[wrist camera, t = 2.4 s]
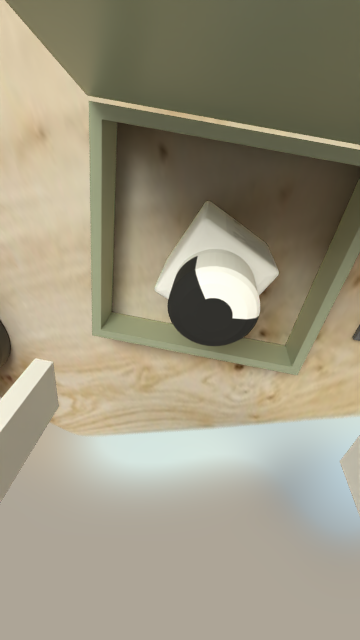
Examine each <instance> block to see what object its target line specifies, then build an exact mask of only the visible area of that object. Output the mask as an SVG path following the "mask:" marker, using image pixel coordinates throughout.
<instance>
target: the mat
mask: <svg viewBox="0 0 360 640" xmlns="http://www.w3.org/2000/svg"><path fill="white" fill-rule="evenodd" d="M353 339H354V340H358V341H360V325H359V327H358V329H357V330H356V332H355V334H354V336H353Z"/></svg>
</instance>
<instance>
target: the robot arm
mask: <svg viewBox="0 0 360 640" xmlns="http://www.w3.org/2000/svg"><path fill="white" fill-rule="evenodd" d="M9 354H10V342H9V338H8V335H7V333H6V331H5V329H4V327H3V325H2V324H1V322H0V368H1V367H2V366H3V365H4V363H5V362H6V361H7V359H8V357H9ZM58 407H59V404H58V396H57V389H56V381H55V373H54V365H53V362H52V361H46V360H41V359H36V358H35V359H34V360H33V362H32V363H31V364H30V365H29V366H28V367H27V369H26V370H25V371H24V372H23V373H22V375H21V376H20V377H19V378H18V379H17V381H16V382H15V383H14V384H13V385H12V386H11V388H10V389H9V390H8V391H7V392H6V394H5V395H4V396H3V397H2V398H1V400H0V503H1V501H2V499H3V498H4V496H5V494H6V493H7V491H8V489H9V488H10V486H11V484H12V482H13V481H14V479H15V478H16V476H17V474H18V473H19V471H20V470H21V468H22V466H23V465H24V463H25V461H26V460H27V458H28V456H29V455H30V452H31V451H32V449H33V448H34V446H35V445H36V443H37V441H38V439H39V438H40V436H41V435H42V433H43V431H44V430H45V428H46V427H47V425H48V423H49V422H50V420H51V418H52V417H53V415H54V413H55V412H56V410H57V408H58ZM340 463H341V466H342V469H343V472H344V474H345V477H346V480H347V483H348V485H349V488H350V491H351V494H352V496H353V499H354V502H355V505H356V507H357V510H358V513H359V516H360V436H359V437H358V438H357V440H356V441H355V442H354V443H353V445H352V446H351V447H350V449H349V450H348V451H347V453H346V454H345V455H344V457H343V458H342V459H341V460H340Z"/></svg>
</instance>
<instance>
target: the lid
mask: <svg viewBox="0 0 360 640" xmlns="http://www.w3.org/2000/svg"><path fill="white" fill-rule="evenodd" d="M5 1H6V2H7V3H8V4H9V5H10V7H11V8H12V9H13V10H14V11H15V12H16V14H17V15H18V16H19V17H20V18H21V19H22V20H23V22H24V23H25V24H26V25H27V26H28V27H29V29H30V30H31V31H32V32H33V33H34V34H35V36H36V37H37V38H38V39H39V40H40V41H41V42H42V44H43V45H44V46H45V47H46V48H47V49H48V51H49V52H50V53H51V54H52V55H53V56H54V58H55V59H56V60H57V61H58V62H59V63H60V64H61V66H62V67H63V68H64V69H65V70H66V71H67V73H68V74H69V75H70V76H71V77H72V78H73V80H74V81H75V82H76V83H77V84H78V85H79V86H80V88H81V89H82V90H83V91H84V92H85V93H86V95H88V96H93V97H99V98H104V99H110V100H115V101H121V102H126V103H132V104H137V105H143V106H148V107H154V108H160V109H165V110H171V111H176V112H182V113H187V114H193V115H198V116H204V117H209V118H215V119H220V120H226V121H231V122H237V123H242V124H248V125H254V126H259V127H265V128H270V129H276V130H281V131H287V132H292V133H298V134H303V135H309V136H314V137H320V138H325V139H331V140H336V141H342V142H348V143H353V144H359V145H360V0H5Z"/></svg>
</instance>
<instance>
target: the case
mask: <svg viewBox="0 0 360 640" xmlns="http://www.w3.org/2000/svg"><path fill="white" fill-rule="evenodd" d="M117 122H120V123H125V124H131V125H136V126H142V127H147V128H153V129H158V130H164V131H169V132H175V133H180V134H186V135H191V136H197V137H202V138H208V139H213V140H219V141H224V142H230V143H235V144H241V145H246V146H252V147H257V148H263V149H268V150H273V151H279V152H284V153H290V154H295V155H301V156H306V157H312V158H317V159H323V160H328V161H334V162H339V163H345V164H350V165H356V166H360V150H357V149H352V148H346V147H341V146H335V145H330V144H324V143H319V142H313V141H308V140H302V139H297V138H291V137H286V136H280V135H274V134H269V133H263V132H258V131H252V130H247V129H241V128H236V127H230V126H225V125H219V124H214V123H208V122H203V121H197V120H192V119H186V118H181V117H175V116H170V115H164V114H159V113H153V112H148V111H142V110H136V109H131V108H125V107H120V106H114V105H109V104H103V103H98V102H92V101H89V144H90V211H91V279H92V335H93V336H99V337H104V338H109V339H114V340H119V341H124V342H129V343H134V344H140V345H145V346H150V347H155V348H160V349H165V350H170V351H175V352H181V353H186V354H191V355H196V356H201V357H206V358H211V359H216V360H222V361H227V362H232V363H237V364H242V365H247V366H252V367H258V368H263V369H268V370H273V371H278V372H283V373H288V374H293V375H298V373H299V371H300V369H301V367H302V365H303V363H304V361H305V359H306V357H307V355H308V353H309V351H310V349H311V347H312V345H313V343H314V341H315V339H316V337H317V336H318V334H319V332H320V330H321V328H322V326H323V324H324V322H325V320H326V318H327V316H328V314H329V312H330V310H331V308H332V306H333V304H334V302H335V300H336V298H337V296H338V294H339V292H340V290H341V288H342V286H343V284H344V282H345V280H346V278H347V276H348V274H349V272H350V270H351V268H352V267H353V265H354V263H355V261H356V259H357V257H358V255H359V253H360V178H359V180H358V182H357V185H356V187H355V189H354V191H353V194H352V196H351V198H350V200H349V203H348V205H347V207H346V210H345V212H344V214H343V216H342V219H341V221H340V223H339V225H338V228H337V230H336V232H335V234H334V237H333V239H332V241H331V243H330V246H329V248H328V250H327V252H326V255H325V257H324V259H323V261H322V264H321V266H320V268H319V270H318V273H317V275H316V277H315V280H314V282H313V284H312V286H311V289H310V291H309V293H308V295H307V298H306V300H305V302H304V304H303V307H302V309H301V311H300V313H299V316H298V318H297V320H296V322H295V325H294V327H293V329H292V331H291V334H290V336H289V338H288V340H287V343H286V345H285V346H284V345H279V344H274V343H269V342H264V341H258V340H253V339H248V338H242V339H240V340H238V341H236V342H234V343H231V344H227V345H223V346H206V345H201V344H197V343H195V342H192V341H190V340H189V339H187V338H185V337H184V336H183V335H181V334H180V333H179V332H178V331H177V329H176V328H175V327H174V325H173V324H170V323H165V322H160V321H155V320H150V319H145V318H139V317H134V316H129V315H124V314H119V313H114V312H112V288H113V253H114V218H115V184H116V149H117Z"/></svg>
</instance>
